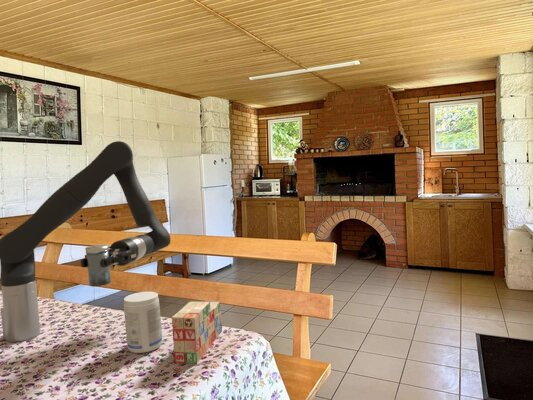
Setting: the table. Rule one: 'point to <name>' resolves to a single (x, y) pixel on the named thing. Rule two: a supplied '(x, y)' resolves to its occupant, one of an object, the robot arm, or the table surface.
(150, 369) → the table surface
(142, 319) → the supplement tub
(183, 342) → the stack of blocks
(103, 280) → the tea tin
